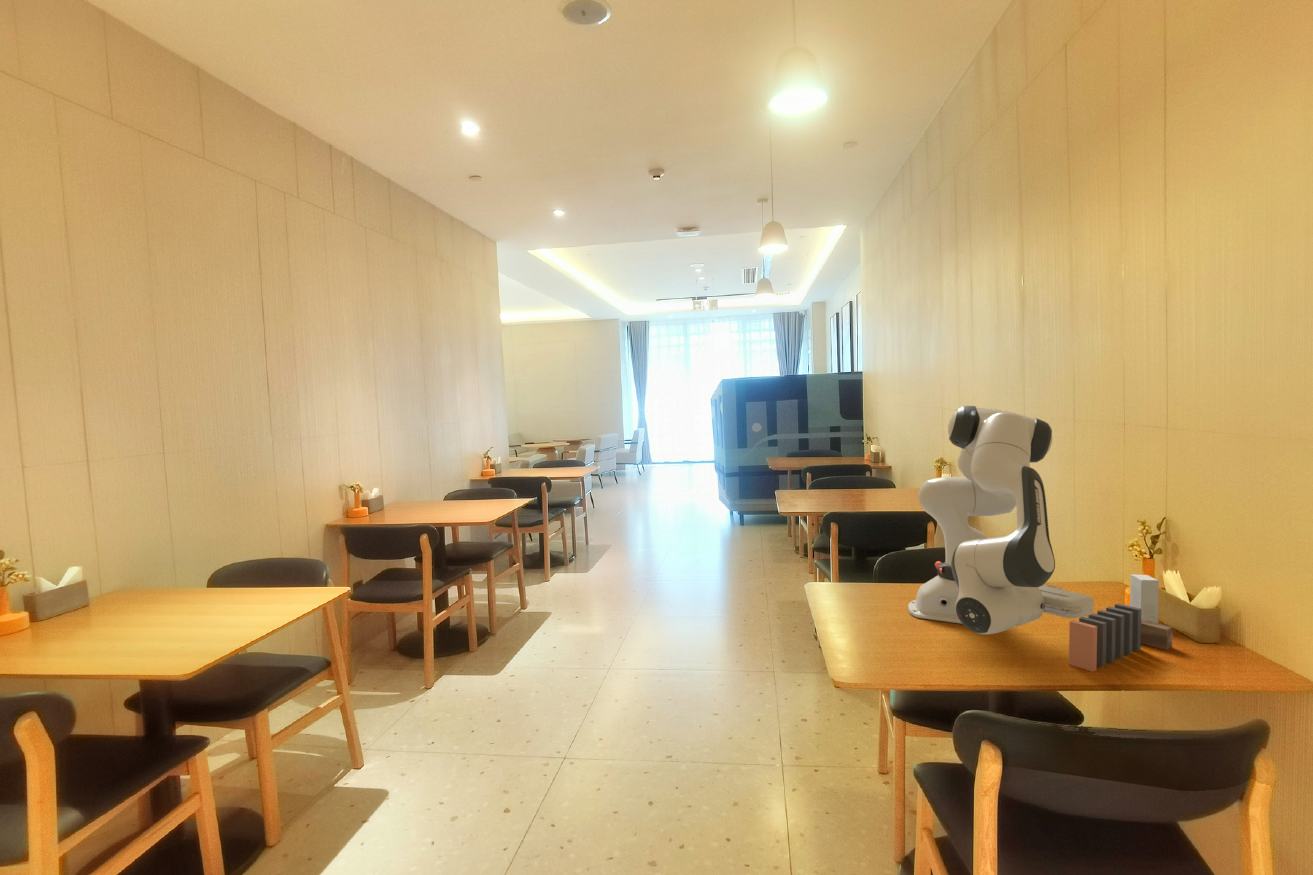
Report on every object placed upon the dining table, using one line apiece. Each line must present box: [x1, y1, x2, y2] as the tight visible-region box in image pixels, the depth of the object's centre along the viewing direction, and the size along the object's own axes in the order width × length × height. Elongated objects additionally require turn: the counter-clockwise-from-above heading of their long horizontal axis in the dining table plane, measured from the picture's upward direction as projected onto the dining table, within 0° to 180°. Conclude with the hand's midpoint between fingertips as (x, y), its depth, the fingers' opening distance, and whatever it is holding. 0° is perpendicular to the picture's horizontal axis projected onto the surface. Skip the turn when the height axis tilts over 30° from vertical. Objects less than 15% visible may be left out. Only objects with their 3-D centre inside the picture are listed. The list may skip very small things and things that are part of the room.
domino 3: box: [1087, 612, 1116, 664], centre depth 151 cm, size 2×5×10 cm, turn 31°
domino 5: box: [1105, 606, 1133, 656], centre depth 156 cm, size 2×5×10 cm, turn 31°
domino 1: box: [1068, 619, 1098, 673], centre depth 147 cm, size 2×5×10 cm, turn 31°
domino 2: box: [1078, 616, 1107, 668], centre depth 149 cm, size 2×5×10 cm, turn 31°
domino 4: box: [1096, 609, 1125, 660], centre depth 154 cm, size 2×5×10 cm, turn 31°
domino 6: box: [1114, 603, 1142, 652], centre depth 158 cm, size 2×5×10 cm, turn 31°
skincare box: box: [1129, 574, 1160, 624], centre depth 175 cm, size 6×4×12 cm
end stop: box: [1141, 620, 1173, 651], centre depth 162 cm, size 3×12×5 cm, turn 31°
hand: (1055, 589), depth 140 cm, fingers closed
